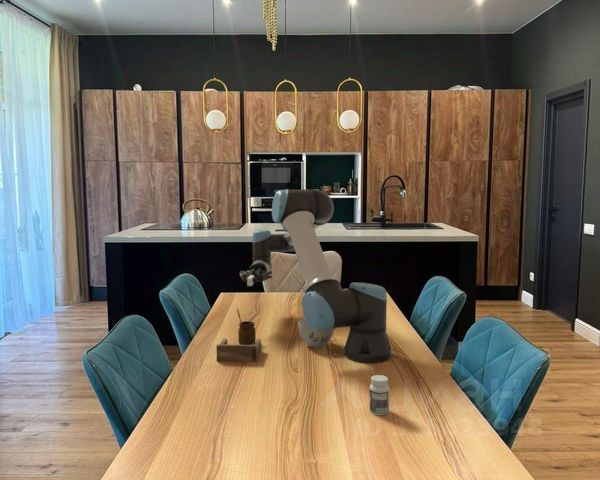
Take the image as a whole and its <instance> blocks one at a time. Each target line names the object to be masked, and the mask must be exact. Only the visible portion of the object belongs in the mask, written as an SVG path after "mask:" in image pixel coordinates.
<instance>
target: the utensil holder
mask: <svg viewBox="0 0 600 480" xmlns="http://www.w3.org/2000/svg"><path fill="white" fill-rule="evenodd" d="M236 312H237V315H238V319H239V325H238V327H239V328H238V332H237V333H238V335H237V336H238V343H239V345H255V343H256V340H257V339H256V328H255V322H254V321H255V318H253V320H252V318H250V320H247V321H242V319H241V314H240V311H239V308H236ZM251 313H252V314H254V315H253V317H256V314H255V312H254V311H251ZM250 316H251V314H248V317H250Z"/></svg>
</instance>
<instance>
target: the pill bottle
mask: <svg viewBox="0 0 600 480" xmlns="http://www.w3.org/2000/svg"><path fill="white" fill-rule="evenodd" d="M370 382H371V384H370V385H369V411H370V413H371V414H373V415H376V416H384V415H388V414H389V412H390V386H389V378H388V376H385V375H383V374H382V375H381V374H376V375H372V376H371V377H370Z"/></svg>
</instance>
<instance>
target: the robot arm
mask: <svg viewBox="0 0 600 480" xmlns="http://www.w3.org/2000/svg"><path fill="white" fill-rule="evenodd" d="M334 211H335V207H334V202H333V199H332V198H331V197H330V195H329V194H327V193H326V192H325V191H323V190H320V189H288V188H286V189H279V190H278V191H276V193H274V196H273V199H272V205H271V217H272V221H273V222H274V223H275V224H280V225H281V227H282V230H283V231H285V233H279V234H278V233H277V234H276V233H275V234H274V233H273V234H272V233H271V231H270V230H268V229H257V230H254V231H253V232H252V264H251V265H250V266H249V268H248V270H246V271H245V270H244V271H243V270H240V271H239V278H241V280H242V282H244V283H246V284H247V285H246V286H247V287H252V286H253V285H254V283H258V282H260V283H262V282H265V281H267V280H269V279H272V278H273V271H271V270H272V266H273V265H272V264H273V263H272V260H271V258H272V257H271V256H272V253H278V252H280V253H281V252H295V255H296V258H297V261H298V263H299V266H300V270H301V273H302V275H303V278H304V280H305V285H306V288H305V290H304V295H303V296H302V299H301V307H302V309H301V310H302V314H303V317H304V319H306V321H307V323H308V324H309V325H310V326H311V327H312V328H314V329H317V330H321V329H325V330H329V329H333V328H334V329H339V328H346V327H349V332H348V335H347V339H346V341H345V345H344V347H343V356H344V357H345V358H346V359H349V360H352V361H354V362H358V363H359V362H360V363H369V364H370V363H372V364H373V363H381V362H386V361H388V360H390V359H391V357H392V347H391V345H390V344H391V343H390V341H389V337H388V334H387V305H388V296H387V290H386V289H385V287H383V286H381V285H377V284H373V283H366V282H351V283H350V284H349V288H342V286H341V283H340V281H339V280H338V279H336V278H333V276H332V272H331V270H330V267H329V265H328V262H327V260H326V257H325V255H324V251H323V249H322V247H321V244H320V241H319V239H318V235H317V233H316V230H317V229H318V228H319V227H320V226H324V225H326V224H327V223H328V222H329V221H330V220H331V219H332V217H333V215H334Z"/></svg>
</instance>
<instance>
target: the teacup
mask: <svg viewBox="0 0 600 480" xmlns="http://www.w3.org/2000/svg"><path fill="white" fill-rule="evenodd" d="M297 326H298V331H299V334H300V337H301V340H303V341H304V342H305V343H306V345H307V347H308V348H309V347H310V348H314V349H315V348H323V347H325V346H326V345H327V343H328V342H329V341H330V340H331V339H332V336H333V334H334V331H335V328H333V329H329V330H325V329H321V330H317V329H314V328H312V327H311V326H310V325H309V324H308V323H307V321H306V319H305V318H304V319H301V320H299V321H298V322H297Z"/></svg>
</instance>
